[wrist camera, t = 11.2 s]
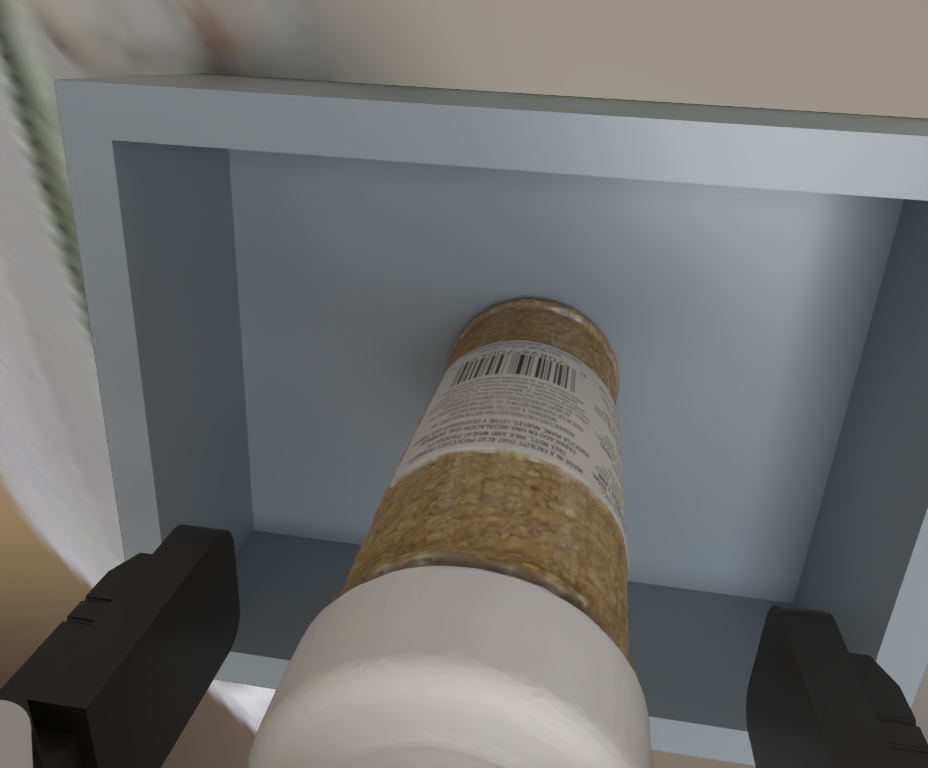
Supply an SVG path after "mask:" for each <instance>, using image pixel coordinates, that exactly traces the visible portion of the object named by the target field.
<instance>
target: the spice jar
mask: <svg viewBox="0 0 928 768" xmlns="http://www.w3.org/2000/svg"><path fill="white" fill-rule="evenodd" d="M619 381H620V378H619V372H618V364H617V360H616V356H615V354H614V352H613V350H612V349H611V347H610V344H609V342H608V340H607V339H606V337H605V336H604V334H603V333H602V332H601V331H600V330H599V329H598V327H597V326H596V325H595V324H594V323H593V322H592V321H590V320H589V319H587V318H586V317H585V316H584V315H583V314H581V313H580V312H578V311H576V310H575V309H573V308H571V307H569V306H566V305H562V304H559V303H556V302H553V301H549V300H537V299H532V298H529V299H519V300H515V301H508V302H504V303H502V304H498V305H495V306H493V307H492V308H490V309H488V310H487V311H485V312H484V313H482V314H481V315H479V316H478V317H475V318H474V319H473V320H472V321H471V322H470V323H469V324H468V325H467V327H466V328H465V329H464V330H463V331H462V332H461V333H460V335H459V336H458V337H457V339H456V340H455V342H454V344H453V346H452V349H451V352H450V357H449V361H448V364H447V366H446V372H445V374H444V376H443V378H442V380H441V382H440V384H439V386H438V388H437V390H436V392H435V394H434V396H433V398H432V400H431V402H430V404H429V405H428V406H427V408H426V410H425V411H424V413H423V415H422V417H421V419H420V421H419V423H418V425H417V427H416V429H415V431H414V433H413V435H412V437H411V439H410V441H409V444H408V446H407V447H406V449H405V451H404V453H403V455H402V457H401V459H400V461H399V464H398V466H397V468H396V472H395V475H394V477H393V479H392V480H391V482H390V485H389V486H388V488H387V490H386V492H385V494H384V497H383V500H382V502H381V504H380V506H379V508H378V510H377V512H376V514H375V516H374V519H373V522H372V525H371V528H370V530H369V532H368V534H367V535H366V537H365V538H364V541H363V544H362V546H361V548H360V550H359V552H358V554H357V556H356V558H355V560H354V562H353V566H352V567H351V569H350V571H349V574H348V576H347V579H346V583H345V587H344V589H343V590H342V591H341V592H340V593H339V594H337V595H336V596H335V597H334V598H333V599H332V601H331V602H330V603H329V605H328V606H327V607H326V608H325V609H323V610H322V611H321V612H320V613H319V615H318V616H317V617H316V618H315V619H314V620H313V622H312V623H311V624H310V626H309V627H308V629H307V631H306V632H305V634H304V635H303V637H302V639H301V641H300V642H299V644H298V646H297V648H296V650H295V652H294V654H293V656H292V658H291V660H290V662H289V664H288V666H287V668H286V670H285V672H284V674H283V677H282V679H281V681H280V683H279V685H278V687H277V690H276V692H275V694H274V696H273V698H272V700H271V703H270V705H269V707H268V709H267V711H266V714H265V716H264V718H263V720H262V722H261V725H260V727H259V729H258V731H257V734H256V736H255V739H254V742H253V745H252V749H251V752H250V756H249V762H248V768H653V765H652V751H651V737H650V722H649V716H648V711H647V706H646V701H645V697H644V694H643V691H642V689H641V686H640V684H639V681H638V676H637V673H636V671H635V668H634V665H633V663H632V661H631V659H630V649H629V630H628V619H627V611H628V598H627V583H628V576H629V556H628V543H627V528H626V513H625V496H624V481H623V463H622V446H621V430H620V422H619V417H618V413H617V409H616V401H617V398H618V393H619Z"/></svg>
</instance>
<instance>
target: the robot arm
mask: <svg viewBox="0 0 928 768" xmlns="http://www.w3.org/2000/svg"><path fill="white" fill-rule="evenodd" d="M67 617H68V618H67V621H66V622H62V623H61V624H60V625H59V626H58V627H57V628H56V629H55V630H54V631H53V633H52V634H51V635H50V636H49V637H48V638H47V639H46V640H45V641H44V642H43V644H42V645H41V646H40V647H39V648H38V649H37V650H36V651H35V652H34V653H33V654H32V655H31V657H30V658H29V659H28V660H27V661H26V662H25V663H24V664H23V665H22V666H21V668H20V669H19V670H18V671H17V672H16V673H15V674H14V675H13V676H12V677H11V678H10V679H9V681H8V682H7V683H6V684H5V685H4V686H3V687H2V688H1V690H0V768H161V767H162V765H163V763H164V761H165V760H166V758H167V757H168V755H169V753H170V751H171V750H172V748H173V747H174V745H175V743H176V741H177V740H178V738H179V737H180V735H181V733H182V731H183V730H184V728H185V726H186V725H187V723H188V721H189V720H190V718H191V716H192V714H193V713H194V711H195V709H196V708H197V706H198V704H199V703H200V701H201V700H202V698H203V696H204V694H205V693H206V691H207V689H208V688H209V686H210V684H211V683H212V681H213V679H214V678H215V676H216V674H217V673H218V671H219V669H220V668H221V666H222V664H223V663H224V661H225V659H226V658H227V656H228V654H229V652H230V650H231V648H232V646H233V644H234V641H235V638H236V635H237V631H238V626H239V620H240V603H239V592H238V580H237V569H236V558H235V546H234V539H233V536H232V534H231V533H230V531H228V530H222V529H214V528H207V527H199V526H192V525H184V524H181V525H178V526H177V527H175V528H174V529H173V531H172V532H171V533H170V534H169V535H168V536H167V537H166V539H165V540H164V541H163V542H162V543H161V544H160V546H159V547H158V548H157V549H156V550H155V551H154V553H153V554H148V553H138V554H137V555H135V556H133V557H132V558H130V559H129V560H127V561H125V562H124V563H122V564H120V565H119V566H117V567H115V568H114V569H112V570H110V571H109V572H107V574H106V575H105V576H104V577H103V578H102V579H101V580H100V581H99V582H98V583H97V584H96V586H95V587H94V588H93V589H92V590H91V591H90V592H89V593H88V594H87V596H86V599H85V601H81V602H80V603H79V604H78V605H77V606H76V608H74V610H73V611H72V612H71V613H70V614H69V615H68V616H67ZM746 722H747V730H748V735H749V739H750V744H751V748H752V753H753V757H754V761H755V766H756V768H928V744H927V742H926V740H925V738H924V736H923V734H922V731H921V730H920V728H919V727H917V726H916V719H915V717H914V715H913V713H912V711H911V709H910V707H909V704H908V702H907V700H906V698H905V696H904V694H903V692H902V690H901V688H900V686H899V685H898V684H897V683H896V682H895V681H894V680H893V679H892V678H891V677H890V676H889V675H888V674H887V673H886V672H885V671H884V669H883V668H882V667H881V666H880V665H879V664H878V663H877V662H876V661H875V660H874V659H873V658H872V657H871V656H870V655H863V654H856V653H849V652H848V649H847V647H846V645H845V642H844V640H843V638H842V635H841V633H840V631H839V628H838V626H837V624H836V621H835V619H834V617H833V616H832V614H830V613H829V612H825V611H818V610H810V609H803V608H795V607H788V606H780V605H772V606H771V607H770V609H769V611H768V613H767V616H766V620H765V623H764V627H763V631H762V635H761V639H760V642H759V646H758V650H757V654H756V658H755V661H754V665H753V669H752V673H751V676H750V680H749V684H748V689H747V697H746Z"/></svg>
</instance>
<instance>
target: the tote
mask: <svg viewBox="0 0 928 768" xmlns="http://www.w3.org/2000/svg"><path fill="white" fill-rule="evenodd" d="M54 84H55V90H56V97H57V104H58V111H59V117H60V124H61V131H62V138H63V145H64V151H65V158H66V165H67V172H68V178H69V185H70V192H71V199H72V205H73V212H74V219H75V226H76V232H77V239H78V246H79V253H80V259H81V266H82V273H83V280H84V286H85V293H86V300H87V307H88V313H89V320H90V327H91V334H92V340H93V347H94V354H95V361H96V367H97V374H98V381H99V388H100V395H101V401H102V408H103V415H104V422H105V428H106V435H107V442H108V449H109V455H110V462H111V469H112V476H113V482H114V489H115V496H116V503H117V509H118V516H119V523H120V530H121V536H122V543H123V550H124V557H125V561H127V560H129V559H130V558H132V557H133V556H135V555H137V554H138V553H148V554H153V553H154V551H155V550H156V549H157V548H158V547H159V546H160V544H161V543H162V542H163V541H164V540H165V539H166V537H167V536H168V535H169V534H170V533H171V532H172V531H173V529H174V528H175V527H177V526H178V525H181V524H184V525H192V526H199V527H207V528H214V529H222V530H228V531H230V533H231V534H232V536H233V539H234V546H235V558H236V569H237V580H238V592H239V603H240V620H239V626H238V631H237V635H236V638H235V641H234V644H233V646H232V648H231V650H230V652H229V654H228V656H227V658H226V659H225V661H224V663H223V664H222V666H221V668H220V669H219V671H218V673H217V674H216V676H215V678H214V679H215V680H222V681H228V682H234V683H240V684H246V685H253V686H259V687H265V688H271V689H277V687H278V685H279V683H280V681H281V679H282V677H283V674H284V672H285V670H286V668H287V666H288V664H289V662H290V660H291V658H292V656H293V654H294V652H295V650H296V648H297V646H298V644H299V642H300V641H301V639H302V637H303V635H304V634H305V632H306V631H307V629H308V627H309V626H310V624H311V623H312V622H313V620H314V619H315V618H316V617H317V616H318V615H319V613H320V612H321V611H322V610H323V609H325V608H326V607H327V606H328V605H329V603H330V602H331V601H332V599H333V598H334V597H335V596H336V595H337V594H339V593H340V592H341V591H342V590H343V589H344V587H345V583H346V579H347V576H348V574H349V571H350V569H351V567H352V566H353V562H354V560H355V558H356V556H357V554H358V552H359V550H360V548H361V546H362V544H363V541H364V538H365V537H366V535H367V534H368V532H369V530H370V528H371V525H372V522H373V519H374V516H375V514H376V512H377V510H378V508H379V506H380V504H381V502H382V500H383V497H384V494H385V492H386V490H387V488H388V486H389V485H390V482H391V480H392V479H393V477H394V475H395V472H396V468H397V466H398V464H399V461H400V459H401V457H402V455H403V453H404V451H405V449H406V447H407V446H408V444H409V441H410V439H411V437H412V435H413V433H414V431H415V429H416V427H417V425H418V423H419V421H420V419H421V417H422V415H423V413H424V411H425V410H426V408H427V406H428V405H429V404H430V402H431V400H432V398H433V396H434V394H435V392H436V390H437V388H438V386H439V384H440V382H441V380H442V378H443V376H444V374H445V372H446V366H447V364H448V361H449V357H450V352H451V349H452V346H453V344H454V342H455V340H456V339H457V337H458V336H459V335H460V333H461V332H462V331H463V330H464V329H465V328H466V327H467V325H468V324H469V323H470V322H471V321H472V320H473V319H474V318H475V317H478V316H479V315H481V314H482V313H484V312H485V311H487V310H488V309H490V308H492V307H493V306H495V305H498V304H502V303H504V302H508V301H515V300H519V299H529V298H532V299H537V300H549V301H553V302H556V303H559V304H562V305H566V306H569V307H571V308H573V309H575V310H576V311H578V312H580V313H581V314H583V315H584V316H585V317H586V318H587V319H589V320H590V321H592V322H593V323H594V324H595V325H596V326H597V327H598V329H599V330H600V331H601V332H602V333H603V334H604V336H605V337H606V339H607V340H608V342H609V344H610V347H611V349H612V350H613V352H614V354H615V356H616V360H617V364H618V372H619V378H620V381H619V393H618V398H617V401H616V409H617V413H618V417H619V422H620V430H621V446H622V463H623V481H624V496H625V513H626V528H627V543H628V556H629V576H628V583H627V598H628V611H627V619H628V630H629V649H630V659H631V661H632V663H633V665H634V668H635V671H636V673H637V676H638V681H639V684H640V686H641V689H642V691H643V694H644V697H645V701H646V706H647V711H648V716H649V722H650V737H651V749H653V750H659V751H665V752H671V753H677V754H684V755H690V756H697V757H702V758H709V759H715V760H721V761H727V762H733V763H740V764H746V765H753V766H755V761H754V757H753V753H752V748H751V744H750V739H749V735H748V730H747V722H746V697H747V689H748V684H749V680H750V676H751V673H752V669H753V665H754V661H755V658H756V654H757V650H758V646H759V642H760V639H761V635H762V631H763V627H764V623H765V620H766V616H767V613H768V611H769V609H770V607H771V606H772V605H780V606H788V607H795V608H803V609H810V610H818V611H825V612H829V613H830V614H832V616H833V617H834V619H835V621H836V624H837V626H838V628H839V631H840V633H841V635H842V638H843V640H844V642H845V645H846V647H847V649H848V652H849V653H856V654H863V655H870V656H871V657H872V658H873V659H874V660H875V661H876V662H877V663H878V664H879V665H880V666H881V667H882V668H883V669H884V671H885V672H886V673H887V674H888V675H889V676H890V677H891V678H892V679H893V680H894V681H895V682H896V683H897V684H898V685H899V686H900V688H901V690H902V692H903V694H904V696H905V698H906V700H907V702H908V704H909V707H910V709H911V706H912V703H913V701H914V698H915V695H916V693H917V690H918V687H919V685H920V682H921V679H922V677H923V674H924V671H925V669H926V666H927V663H928V119H923V118H908V117H892V116H876V115H859V114H843V113H828V112H812V111H796V110H780V109H763V108H748V107H747V108H746V107H732V106H716V105H715V106H714V105H700V104H684V103H668V102H652V101H636V100H620V99H604V98H602V99H601V98H588V97H572V96H556V95H540V94H539V95H538V94H522V93H508V92H492V91H476V90H460V89H443V88H427V87H412V86H396V85H379V84H363V83H347V82H331V81H315V80H299V79H283V78H267V77H251V76H235V75H219V74H180V75H155V76H131V77H107V78H83V79H59V80H54Z"/></svg>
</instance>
